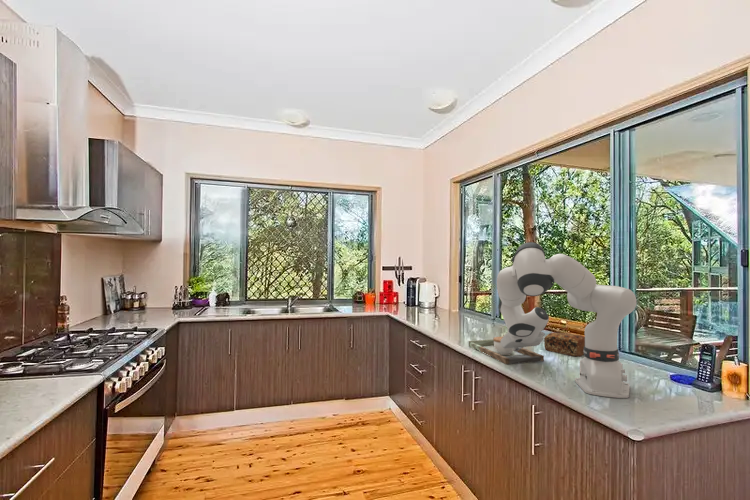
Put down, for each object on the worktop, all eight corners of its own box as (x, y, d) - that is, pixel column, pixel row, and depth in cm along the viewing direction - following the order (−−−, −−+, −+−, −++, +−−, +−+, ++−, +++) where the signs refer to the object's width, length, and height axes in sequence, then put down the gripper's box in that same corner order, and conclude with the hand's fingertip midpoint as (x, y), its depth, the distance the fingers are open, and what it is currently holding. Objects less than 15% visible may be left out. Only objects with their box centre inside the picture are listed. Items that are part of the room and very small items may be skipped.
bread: (588, 354, 199) (588, 335, 199) (576, 357, 194) (575, 337, 194) (555, 347, 215) (555, 329, 215) (543, 350, 210) (542, 331, 210)
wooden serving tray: (543, 361, 188) (543, 354, 188) (506, 364, 183) (506, 357, 183) (500, 344, 225) (500, 338, 225) (468, 346, 220) (468, 341, 220)
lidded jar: (489, 352, 206) (489, 334, 207) (506, 350, 210) (506, 332, 210) (501, 357, 196) (501, 338, 196) (519, 355, 199) (519, 336, 200)
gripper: (543, 326, 189) (530, 342, 198) (505, 329, 184) (494, 345, 193) (549, 337, 184) (536, 353, 194) (511, 340, 179) (499, 356, 189)
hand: (515, 349), depth 193 cm, fingers closed
